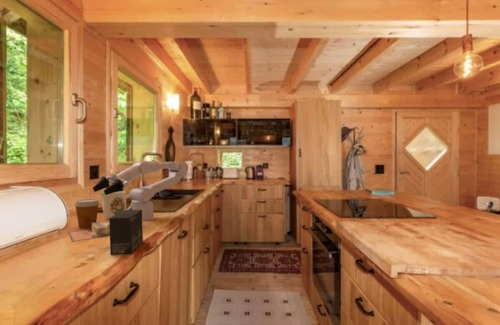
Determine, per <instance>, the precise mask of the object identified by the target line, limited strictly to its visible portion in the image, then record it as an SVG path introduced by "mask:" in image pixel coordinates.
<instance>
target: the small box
mask: <svg viewBox="0 0 500 325" xmlns="http://www.w3.org/2000/svg"><path fill="white" fill-rule="evenodd" d="M108 220H109V222H110V236H109V246H110V248H109V252H110V253H109V254H110V255H112V256H115V255H132V254H133V253H134V252H135V251H136V249H137V248H138V247H139V246H140V245H141V244H142V243H143V242H144V236H143V235H144V231H143V230H144V229H143V221H142V210H132V209H130V210H123V211H121V212H120V213H118V214H116V215H115V216H113V217H111V218H109V219H108ZM109 222H108V223H109Z"/></svg>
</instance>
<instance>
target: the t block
mask: <svg viewBox="0 0 500 325" xmlns="http://www.w3.org/2000/svg"><path fill="white" fill-rule="evenodd" d="M91 229H92V231H93V232H94V234H95V235H96V236H103V235H108V232H110V222H104V221H103V220H102V221H96V222H94V223H92V227H91Z"/></svg>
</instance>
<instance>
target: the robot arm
mask: <svg viewBox="0 0 500 325" xmlns="http://www.w3.org/2000/svg"><path fill="white" fill-rule="evenodd" d="M162 169H163V170H164V169H168V177H165V178H163V179H160V180H159V181H156V182H154V183H151V184H148V185H145V186H142V187H133V188H131V189H130V191H129V193H128V195H129V197H128V198H129V199H130V200H132V201H131V202H132V208H131V210H142V222H144V221H149V220H151V221H154V220H155V218H154V217H155V213H154V211H155V209H154V202H153V201H150V200H151V199H152V198H153V197H155V194H157V193H159V192H161V191H163V190H166V189H168V188H170V187H172V186H174V185H176V184H178V183H179V182H180V181H181V180H182V179H183V178H184V176H187V174H188V172H189V165H188V163H187V162H181V161H165V162H159V161H157V160H155V159H151V161H147V160H143V161H136V162H134V163H133V164H132V166H129V167H128V168H126V169H124V170H122V171H120V172H118V173H114V172H113V173H112V175H111V176H110V175H109V176H102V177H101V178H100V180H99V181H98V182H97V183H96V184H95V185H93V186H92V189H93V192H95V193H96V192H100V191H101V190H103V192H104V193H105V195H108V194H111V193H114V192H119V191H124V188H127V187H129V185H130V184H129V182H131V181H133V180H135V179H136V178H138V177H139V176H141V175H147V174H149V173H157V172H159V171H160V170H162Z"/></svg>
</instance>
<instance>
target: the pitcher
mask: <svg viewBox="0 0 500 325" xmlns="http://www.w3.org/2000/svg"><path fill="white" fill-rule="evenodd" d="M126 193H127V192H126V191H124V190H123V191H119V192H114V193H111V194H108V195H105V193H104V191H97V194H98V195H100V196H101V197H102V203H101V205H102V206H101V207H102V211H103V214H104V217H105V218H106V219H107V220H109V218H111V217H113V216H115V215H116V214H118V213H120V212H121V211H123V210H132V200H131V199H130V200H131V202H130V205H129V206H128V208H127V199H128V198H130V197H129V194H127V195H126Z"/></svg>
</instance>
